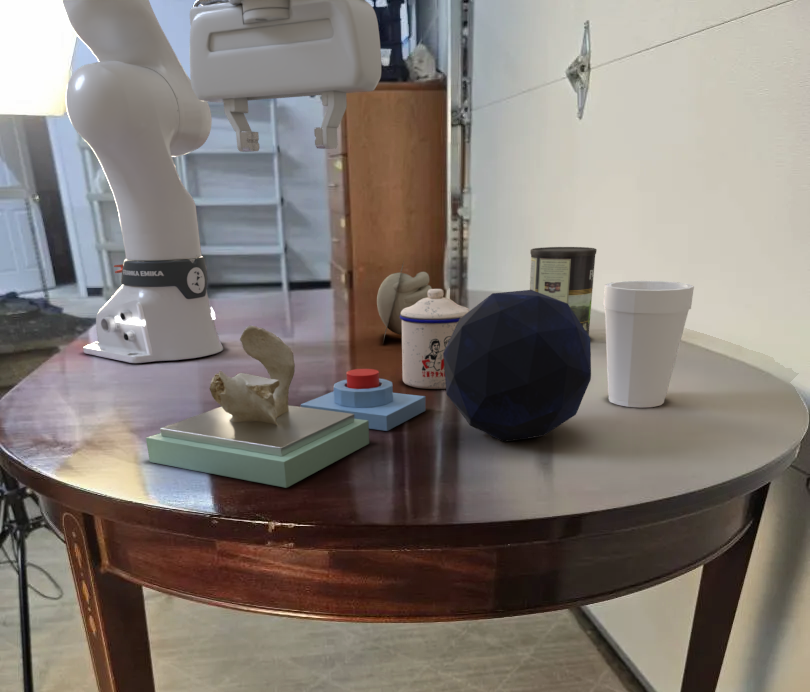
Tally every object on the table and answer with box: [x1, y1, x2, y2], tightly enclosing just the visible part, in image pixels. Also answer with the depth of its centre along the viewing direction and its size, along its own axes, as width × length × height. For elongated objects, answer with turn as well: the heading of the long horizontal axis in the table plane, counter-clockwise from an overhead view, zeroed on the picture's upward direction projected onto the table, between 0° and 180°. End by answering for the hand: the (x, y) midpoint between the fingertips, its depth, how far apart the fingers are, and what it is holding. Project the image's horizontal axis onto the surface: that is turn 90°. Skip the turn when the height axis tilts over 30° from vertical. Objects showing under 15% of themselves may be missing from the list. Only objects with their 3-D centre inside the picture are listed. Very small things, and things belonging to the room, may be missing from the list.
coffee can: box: [529, 246, 597, 336], centre depth 125 cm, size 10×10×14 cm
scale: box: [145, 404, 370, 489], centre depth 75 cm, size 16×14×3 cm
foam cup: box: [602, 280, 695, 409], centre depth 88 cm, size 10×9×13 cm
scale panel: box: [300, 378, 426, 432], centre depth 87 cm, size 11×9×4 cm
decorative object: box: [376, 260, 433, 343], centre depth 128 cm, size 13×10×10 cm
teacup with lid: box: [400, 288, 471, 390], centre depth 100 cm, size 12×9×12 cm
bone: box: [209, 325, 296, 426], centre depth 73 cm, size 9×6×10 cm
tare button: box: [346, 368, 380, 389], centre depth 86 cm, size 4×4×2 cm
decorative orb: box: [443, 289, 592, 443], centre depth 76 cm, size 14×15×15 cm
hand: (286, 150), depth 76 cm, fingers open, 8 cm apart
